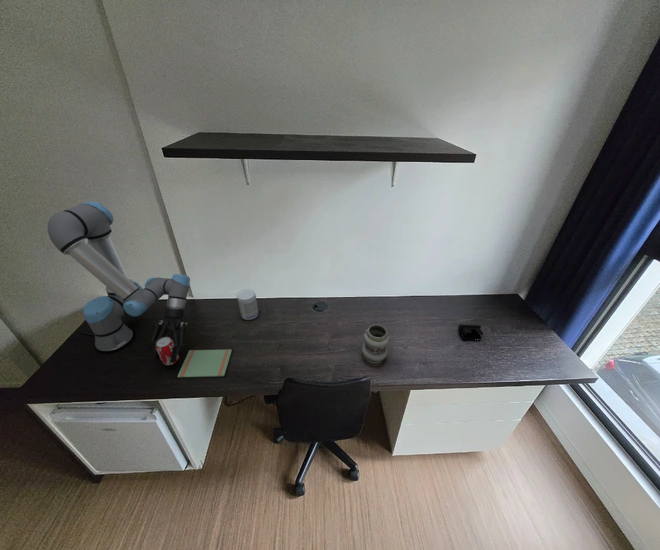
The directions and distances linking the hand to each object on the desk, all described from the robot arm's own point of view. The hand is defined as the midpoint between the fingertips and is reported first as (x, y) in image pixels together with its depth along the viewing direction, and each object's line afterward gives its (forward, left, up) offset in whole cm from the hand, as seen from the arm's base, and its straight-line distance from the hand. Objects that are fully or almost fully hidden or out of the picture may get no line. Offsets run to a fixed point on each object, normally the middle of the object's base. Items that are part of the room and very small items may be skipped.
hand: (164, 361), depth 126 cm
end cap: (+146, +17, -6) cm, 148 cm away
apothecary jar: (+93, +4, -6) cm, 94 cm away
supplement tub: (+29, +36, -6) cm, 47 cm away
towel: (+15, +3, -6) cm, 17 cm away
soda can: (+1, +3, -4) cm, 5 cm away
